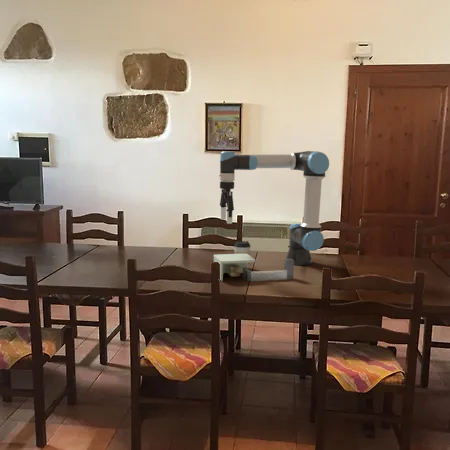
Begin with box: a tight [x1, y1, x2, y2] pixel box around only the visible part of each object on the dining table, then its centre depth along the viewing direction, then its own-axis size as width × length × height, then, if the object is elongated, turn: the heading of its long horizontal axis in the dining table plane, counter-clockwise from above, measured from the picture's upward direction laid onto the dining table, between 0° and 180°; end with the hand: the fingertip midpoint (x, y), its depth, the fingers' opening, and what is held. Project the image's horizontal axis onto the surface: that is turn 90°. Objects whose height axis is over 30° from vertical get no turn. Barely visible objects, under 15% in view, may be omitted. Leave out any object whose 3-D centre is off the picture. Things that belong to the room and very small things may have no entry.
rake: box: [241, 258, 295, 282], centre depth 264 cm, size 24×9×10 cm, turn 104°
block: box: [227, 265, 241, 277], centre depth 269 cm, size 5×5×5 cm
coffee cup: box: [233, 240, 251, 269], centre depth 283 cm, size 9×9×15 cm
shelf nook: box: [213, 253, 256, 282], centre depth 265 cm, size 18×15×10 cm
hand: (226, 221), depth 271 cm, fingers open, 13 cm apart
